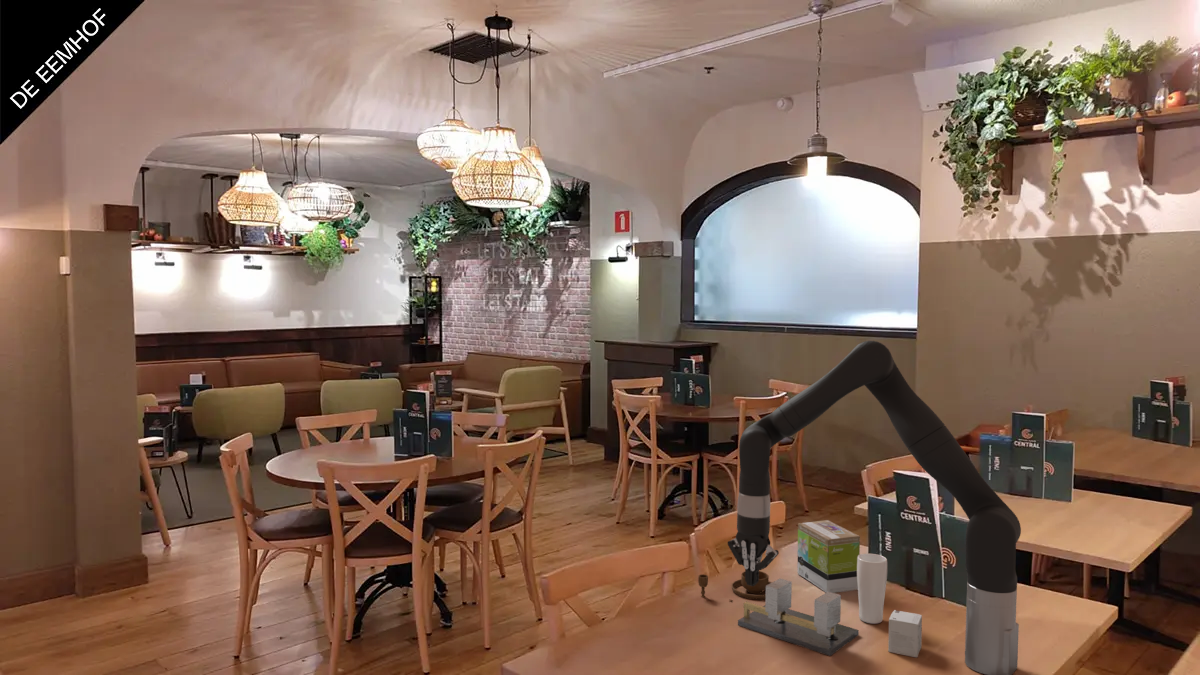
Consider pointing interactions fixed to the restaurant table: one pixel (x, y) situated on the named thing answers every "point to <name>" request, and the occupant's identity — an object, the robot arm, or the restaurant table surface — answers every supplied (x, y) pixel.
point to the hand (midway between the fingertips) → (751, 584)
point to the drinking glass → (871, 586)
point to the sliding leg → (778, 598)
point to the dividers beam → (824, 614)
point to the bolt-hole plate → (799, 632)
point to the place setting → (752, 589)
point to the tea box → (828, 556)
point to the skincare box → (905, 633)
